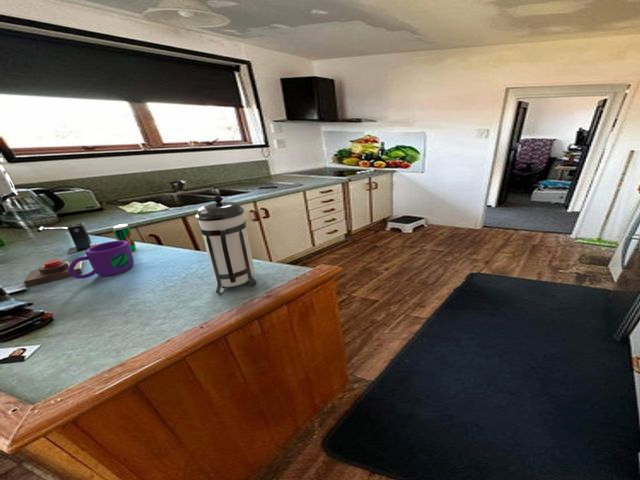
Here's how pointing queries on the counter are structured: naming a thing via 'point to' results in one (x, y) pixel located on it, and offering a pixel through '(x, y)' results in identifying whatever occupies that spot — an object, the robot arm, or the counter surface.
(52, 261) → the lamp button
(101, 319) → the counter surface
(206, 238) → the coffee press
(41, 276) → the lamp base
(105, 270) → the mug
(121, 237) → the soda can
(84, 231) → the switch bracket
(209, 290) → the counter surface
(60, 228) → the lever
